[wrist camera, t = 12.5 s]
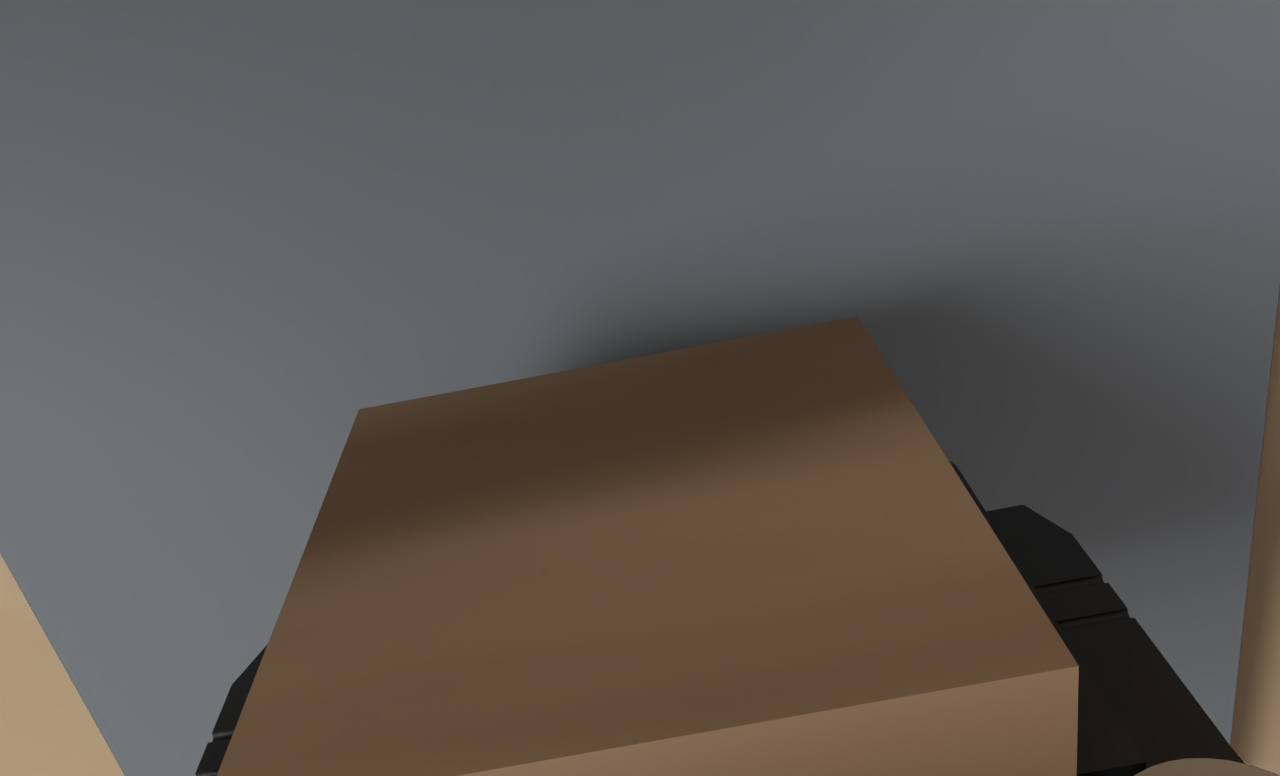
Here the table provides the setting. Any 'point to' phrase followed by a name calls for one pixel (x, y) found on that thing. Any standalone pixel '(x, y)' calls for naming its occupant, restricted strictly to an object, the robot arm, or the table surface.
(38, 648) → the table surface
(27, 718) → the table surface
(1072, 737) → the walnut cube
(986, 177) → the mat
